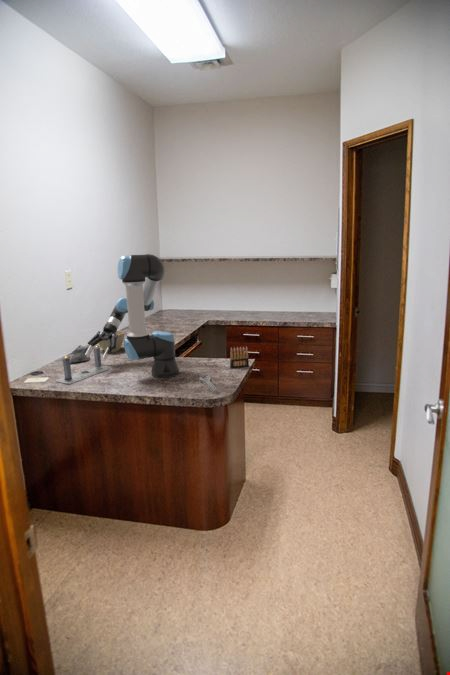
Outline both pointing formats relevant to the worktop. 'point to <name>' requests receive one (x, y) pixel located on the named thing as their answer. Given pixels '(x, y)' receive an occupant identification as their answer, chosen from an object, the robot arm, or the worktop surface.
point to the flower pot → (119, 342)
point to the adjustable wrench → (209, 383)
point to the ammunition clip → (239, 358)
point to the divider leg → (97, 356)
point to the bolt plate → (79, 375)
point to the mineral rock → (79, 354)
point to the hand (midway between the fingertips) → (95, 357)
